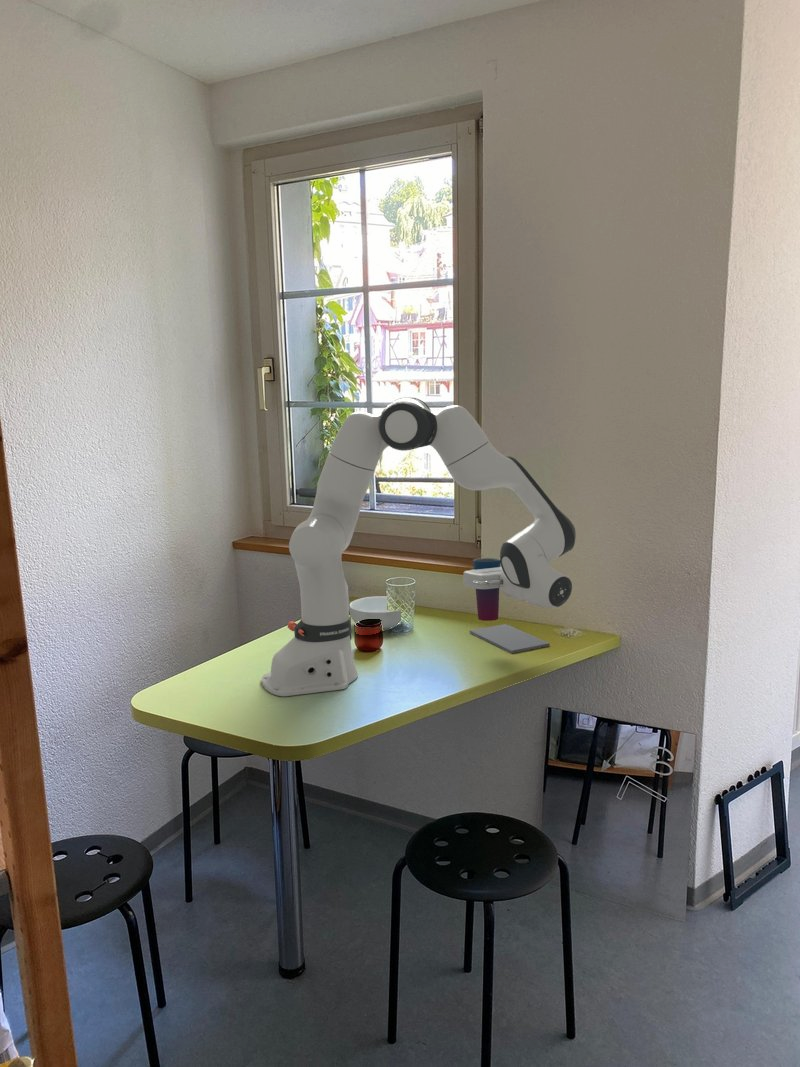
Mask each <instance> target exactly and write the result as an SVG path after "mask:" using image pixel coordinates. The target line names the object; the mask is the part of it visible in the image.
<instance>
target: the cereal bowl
mask: <svg viewBox="0 0 800 1067" xmlns="http://www.w3.org/2000/svg"><path fill="white" fill-rule="evenodd" d="M387 597H388V595H387V596H384V595H383V596H382V595H381V596H379V595H378V596H377V595H376V596H367V597H362V598H357V599H355V600H353V601H350V605H349V610H350V615H351V616H350V618H351V620H352V621H353V622H354V623H355V624H356V622H358V621H361V620H364V619H380V620H382V625H383V630H384V631H383V632H386V631H390V630H391V629H390V628H391V627H393V628H395V627H397V626H396V625H397V624H398V623H399V622H400V621H401V612H400V611H401V610H396V611H389V612H388V610H387ZM394 626H395V627H394ZM389 629H390V630H389Z"/></svg>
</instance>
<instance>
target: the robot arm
mask: <svg viewBox="0 0 800 1067" xmlns="http://www.w3.org/2000/svg"><path fill="white" fill-rule="evenodd" d="M427 446H431V448H433V449H434V450H435V451H436V452H437V454H438V456H439V457H440V458H441V459H440V460H442V462H443V464H444V465H445V467H446V469H447V471H448V472H449V474H450V476H451V478H452V479H453V481H455V482H456V484H457V485H458V486H460V487H462V488H464V489H466V490H470V491H484V490H490V489H491V490H492V489H495V488H507V489H509V490H511V491H513V492H514V493H515V495H516V496H517V497H518V498H519V499H520V501H521V502H522V503H523V504H524V506H526V508H527V509H528V511H529V512H530V513H531V514H532V516H533V517H534V519H533V522H532V523H530V524H529V525H528V526H526V527H525V528H524V529H522V530H520V531H519V532H517V533H516V534H514V535H513V536H512V537H510V538H509V539H507V540H506V541H504V542H503V543H502V544H501V547H500V551H499V559H500V567H496V568H487V569H478V570H476V569H474V568H473V569H470V570H464V571H463V574H462V584H463V586H465V587H467V588H472V589H475V590H476V589H492V588H499V589H500V590H501V592H502V594H504V595H505V596H506V597H508V598H511V599H514V600H518V601H521V602H528V604H531V605H535V606H538V607H541V608H547V609H555V608H560V607H561V606H563V605H564V604H565V603H567V601H568V600H569V598H570V596H571V594H572V592H573V582H572V580H571V578H570V577H569V576H567V575H566V574H564V573H562V572H559V571H557V570H556V569H555V568H553V567H552V566H551V563H553V561H554V560H556V559H558V558H560V557H562V556H563V555H565V554H566V553H568V552H571V550H573V548H574V547H575V544H576V536H577V535H576V534H577V533H576V528H575V525H574V524H573V522H572V521H571V520H570V519H569V518H568V516H567V515H565V514H564V513H563V512H562V511H561V510H560V509H559V508H558V507H557V506H556V505H555V504H554V502H552V500H551V499H550V498H549V496H548V495H547V494H546V493H545V491H544V490H543V489H542V487H541V486H540V485H539V484H538V483H537V482H536V480H535V479H534V478H533V476H532V475H531V474H530V473H529V472H528V471H527V469H526V468H525V467H524V466H523V465H522V464H521V463H520V462H519V461H518V460H517V459H516V458H514V457H512V456H510V455H509V456H508V455H507V456H506V455H504V454H503V453H501V452H499V450H497V448H495V447H494V445H493V444H492V443H491V441H490V440H489V438H488V436H487V434H486V433H485V432H484V430H483V428H482V427H481V426H480V424H479V423H478V422H477V420H476V419H475V418H474V417H473V415H472V414H471V413H470V412H469V411H468V410H467V408H465V406H464V407H463V406H462V405H457V404H455V405H449V406H446V407H443V408H442V409H439V410H437V411H432V410H431V408H430V407H429V406H428V404H427V403H426V402H425V401H423V400H421V399H419V398H416V397H410V396H409V397H400V398H398V399H395V400H393V401H392V402H391V403H390V404H388V405H386V407H385V408H384V409H383V411H382V412H381V413H380V414H378V415H377V414H376V415H375V414H372V413H369V412H365V411H356V412H352V413H350V414H349V415H347V416H346V418H345V420H344V421H343V422H342V424H341V426H340V428H339V430H338V431H337V433H336V436H335V437H334V440H333V442H332V444H331V447H330V449H329V452H328V454H327V457H326V459H325V462H324V465H323V467H322V471H321V473H320V476H319V478H318V481H317V483H316V493H315V498H314V502H313V507H312V510H311V513H310V515H309V516H308V518H307V519H306V520H304V521H302V522H300V523H299V524H298V525H297V526H296V527H295V529H294V530H293V532H292V533H291V537H290V538H289V542H288V550H289V553H290V556H291V558H292V560H293V561H294V566H295V572H296V575H297V578H298V579H297V580H298V584H299V591H300V592H299V593H300V608H301V610H300V611H301V619H300V621H299V622H298V623H296V622H295V621H293V620H290V621H289V622H288V623H287V628H288V629H289V630H290V631H291V632H293V633H294V636H293V637H292V638H291V639H290V640H289V641H288V642H287V643H286V644H285V645H284V646H282V647H281V649H279V650H278V651H277V652H276V653H275V654H274V655H273V657H272V660H271V667H270V672H267V673H265V674H262V677H261V685H262V687H263V688H264V690H266V691H267V692H269V693H271V694H272V695H275V696H278V697H289V696H290V697H291V696H299V695H300V696H301V695H307V694H314V693H322V692H331V691H339V690H345V689H347V688H348V686H349V684H350V683H352V682H354V681H355V680H356V679H357V678H358V677H359V676H358V675H359V673H358V671H357V668H356V664H355V661H354V660H355V659H354V656H353V650H352V642H351V641H352V637H353V636H352V634H353V632H352V631H353V629H352V618H351V616H350V617H349V602H348V600H349V585H348V582H347V581H346V577H345V572H344V568H343V561H342V560H343V559H342V555H343V552H344V551H346V550H347V548H348V547H349V545H350V544H351V541H352V538H353V535H354V532H355V530H356V527H357V523H358V519H359V516H360V513H361V508H362V504H363V501H364V499H365V496H366V494H367V491H368V488H370V487H369V486H370V484H371V481H372V479H373V476H374V473H375V472H376V471H375V470H376V469H377V466H378V463H379V460H380V458H381V456H382V454H383V452H384V451H385V450H386V449H387V448H388V447H390V448H392V449H394V450H397V451H403V452H404V451H406V452H407V451H413V450H416V449H419V448H423V447H427Z"/></svg>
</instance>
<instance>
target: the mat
mask: <svg viewBox="0 0 800 1067" xmlns="http://www.w3.org/2000/svg"><path fill="white" fill-rule="evenodd" d="M470 633H471V634H470ZM469 634H470V635H472V634H473V636H474V637H476V636H477V638H479V639H481V640H482V641H484V640H485V641H484V642H487V643H489V644H491V645H493V646H495V647H496V648H499V649H501V650H503V651H505V652H507V653H508V654H512V653H513V654H516V652H518V653H522V651H523V652H527V651H526V650H528V651H531V649H533V650H537V649H536V648H538V649H541V647H543V648H546V647H547V646H548V647H550V645H551V644H550V642H548V641H546V640H543V639H541V638H540V637H539V638H538V637H536V636H534V635H532V634H531V633H530V634H529V633H527V632H525V631H523V630H520V629H518V628H516V627H513V626H512V625H509V624H506V623H504V624H499V625H492V626H487V627H481V628H475V629H471V630H469Z"/></svg>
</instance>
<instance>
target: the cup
mask: <svg viewBox="0 0 800 1067" xmlns="http://www.w3.org/2000/svg"><path fill="white" fill-rule="evenodd" d="M472 562H473V564H472V565H473V569H476V570H478V569H487V568H496V567H500V566H501V563H500V558H496V557H495V558H494V557H493V558H492V557H491V558H490V557H482V558H475V559H472ZM475 596H476V607H477V620H479V621H484V622H485V621H486V622H488V621H489V622H491V621H497V620H499V608H500V606H499V605H500V604H499V603H500V588H492V589H476V588H475Z"/></svg>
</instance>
